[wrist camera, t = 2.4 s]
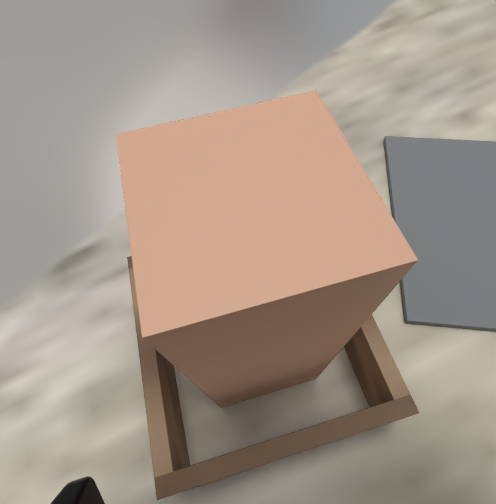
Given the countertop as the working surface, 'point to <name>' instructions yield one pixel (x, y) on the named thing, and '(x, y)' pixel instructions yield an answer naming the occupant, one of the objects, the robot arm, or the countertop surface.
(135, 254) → the terracotta block
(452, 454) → the countertop surface
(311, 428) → the wooden frame
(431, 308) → the rubber mat
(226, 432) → the countertop surface
